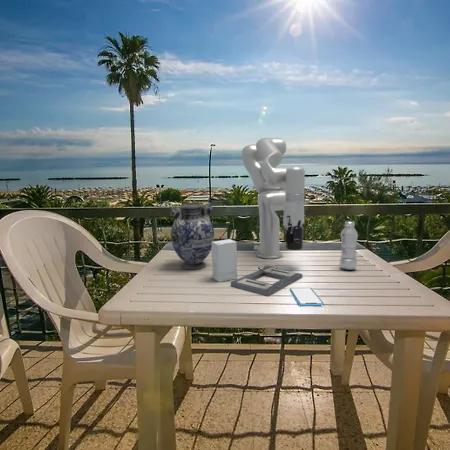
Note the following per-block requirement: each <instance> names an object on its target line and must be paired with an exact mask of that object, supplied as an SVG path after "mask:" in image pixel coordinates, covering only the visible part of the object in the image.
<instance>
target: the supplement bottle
mask: <svg viewBox="0 0 450 450" xmlns="http://www.w3.org/2000/svg"><path fill="white" fill-rule="evenodd" d="M297 225H298V226H296V227H294V230H293V234H294V243H286V242H285V249H287V250H291V251H300V250H302V249H303V246H304V228H302V227H301V226H300V225H301V220H299V222H298V224H297ZM290 226H292V225H290ZM290 229H291V228H290Z"/></svg>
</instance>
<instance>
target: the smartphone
mask: <svg viewBox="0 0 450 450" xmlns="http://www.w3.org/2000/svg"><path fill="white" fill-rule="evenodd" d="M289 291H290V293H291V295H292V296H294V297H293V298H294V300H295V302H296V301H297V302H296V303H297V305H298V304H299V305H300V306H299V305H298V306H299V307H301V306H313V307H322V306H321V305H323V306H324V302H323V300H322V299H321V298H320V296H319V295H318V294H317V293H316V292H315V291H314V289H313V288H311V287H291V288H289Z"/></svg>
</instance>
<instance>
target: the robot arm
mask: <svg viewBox="0 0 450 450" xmlns="http://www.w3.org/2000/svg"><path fill="white" fill-rule="evenodd" d="M286 151H287V143H286V141H285V140H284V139H283V138H281V137H262V138H260V139H258V140H257V141H256V143H255V144H247V145H246V146H244V147H243V148H242V150H241V160H242V164H243V166H244V168H245V170H246V171H247V172H248V174H249V176H250V178H251V180H252V183H253V186H254V189H255V191H256V192H257V193H258V196H257V207H258V213H259V245H257V244H255V245H254V246H253V250H254V251H257V252H256V256H257V258H261V259H268V260H270V259H271V260H272V259H273V260H274V259H279V258H282V257H283V253H282V252H281V251H280V229H281V228H280V225H281V224H280V217H279V216H278V215H277V213H276V212H277V211H283V217H282V218H283V219H282V220H283V221H282V226H283V228H284V231H285V244H286V243H294V234H293V230H294V227H296V226H298V225H297V224H298V222H299V220H301V225H300V226H301V227H302V228H303V227H304V225H305V205H304V204H305V173H306V170H305V168H304V167H301V166H295V167H294V166H293V167H285V166H283V167H281V166H280V167H278V166H279V165H280V164H281V163H282V161H283V156H284V155H285V153H286ZM260 162H262V163H260ZM290 225H292V226H290ZM290 228H291V229H290ZM303 229H304V228H303Z"/></svg>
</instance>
